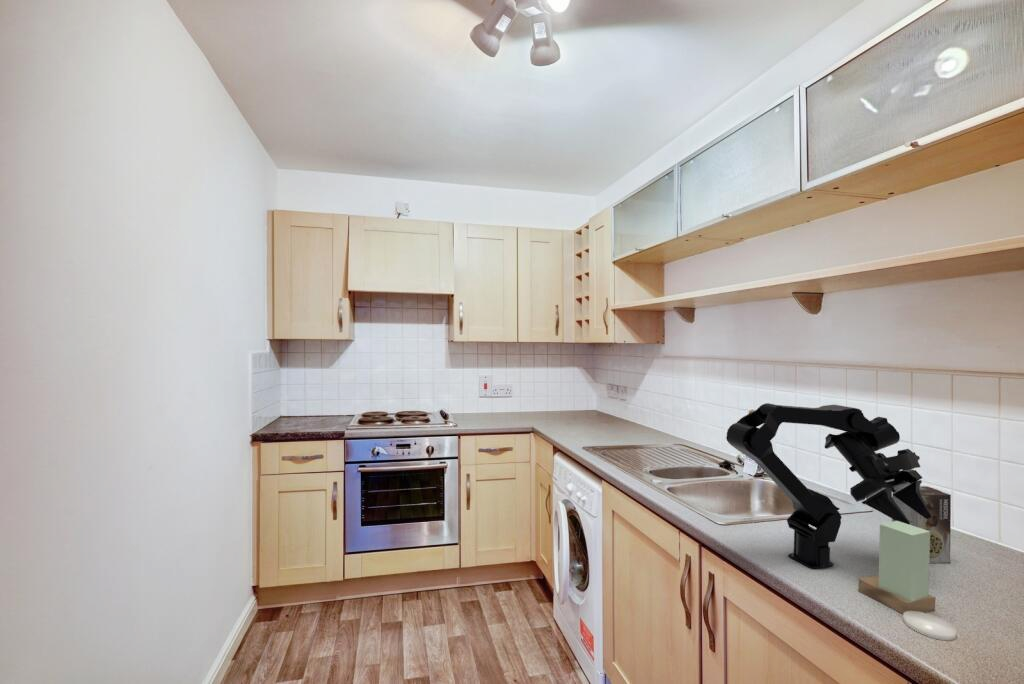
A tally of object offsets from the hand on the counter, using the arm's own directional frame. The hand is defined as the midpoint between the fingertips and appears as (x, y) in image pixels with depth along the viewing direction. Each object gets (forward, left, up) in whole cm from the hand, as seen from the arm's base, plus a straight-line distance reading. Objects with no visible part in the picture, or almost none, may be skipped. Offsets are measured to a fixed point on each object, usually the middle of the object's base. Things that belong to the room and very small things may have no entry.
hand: (919, 521), depth 97 cm
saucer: (+11, -14, -14) cm, 22 cm away
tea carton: (+4, -11, -11) cm, 16 cm away
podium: (+3, -10, -14) cm, 17 cm away
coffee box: (-9, +16, -14) cm, 23 cm away
